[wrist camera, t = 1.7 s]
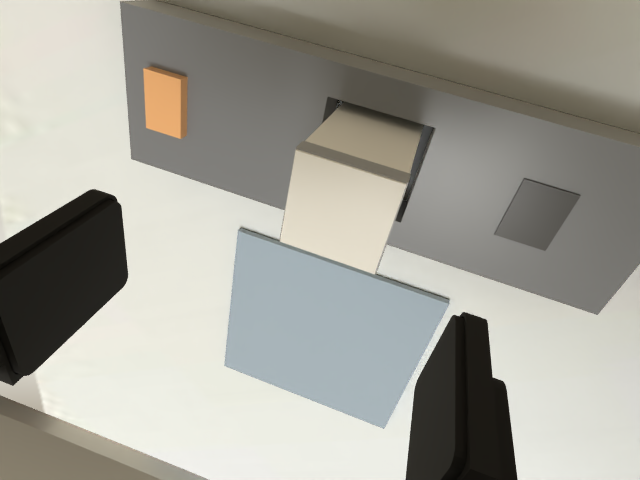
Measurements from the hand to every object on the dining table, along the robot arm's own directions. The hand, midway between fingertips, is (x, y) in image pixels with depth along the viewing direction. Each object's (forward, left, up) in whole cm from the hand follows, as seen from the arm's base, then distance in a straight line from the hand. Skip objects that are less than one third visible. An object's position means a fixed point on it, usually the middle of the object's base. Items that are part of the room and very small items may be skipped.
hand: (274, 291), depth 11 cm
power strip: (-1, 0, -13) cm, 13 cm away
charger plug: (-1, 0, -13) cm, 13 cm away
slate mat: (-1, +15, -13) cm, 20 cm away
